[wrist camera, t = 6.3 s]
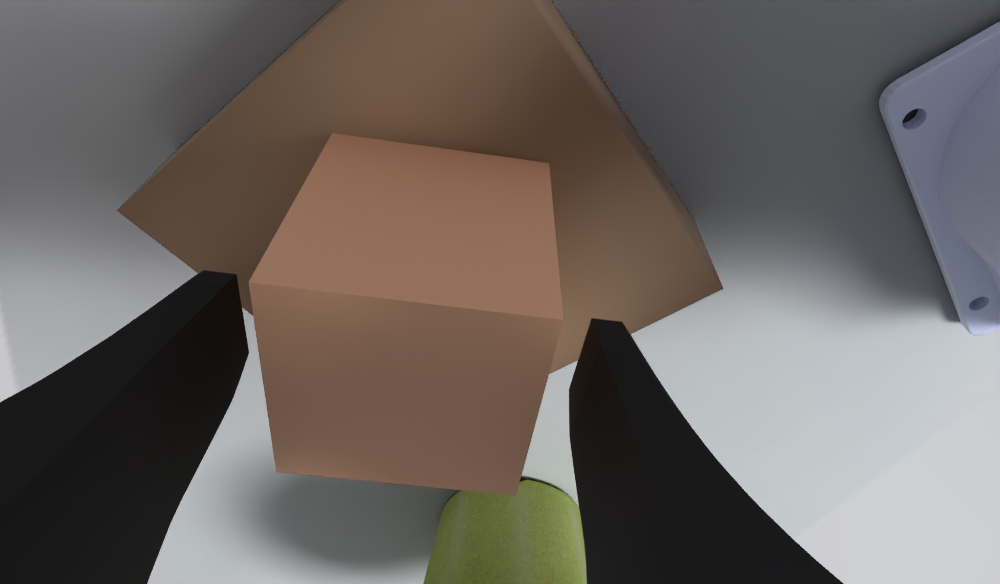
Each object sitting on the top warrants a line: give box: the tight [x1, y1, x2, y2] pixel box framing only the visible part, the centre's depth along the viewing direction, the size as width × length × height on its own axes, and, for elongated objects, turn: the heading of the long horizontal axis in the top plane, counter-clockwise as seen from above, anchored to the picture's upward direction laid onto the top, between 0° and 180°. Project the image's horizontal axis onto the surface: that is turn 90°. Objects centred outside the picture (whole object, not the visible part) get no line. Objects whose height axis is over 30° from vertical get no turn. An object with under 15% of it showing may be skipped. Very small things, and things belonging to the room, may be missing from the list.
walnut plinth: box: [117, 0, 723, 374], centre depth 15 cm, size 10×10×3 cm
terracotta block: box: [249, 133, 563, 496], centre depth 12 cm, size 4×4×5 cm
